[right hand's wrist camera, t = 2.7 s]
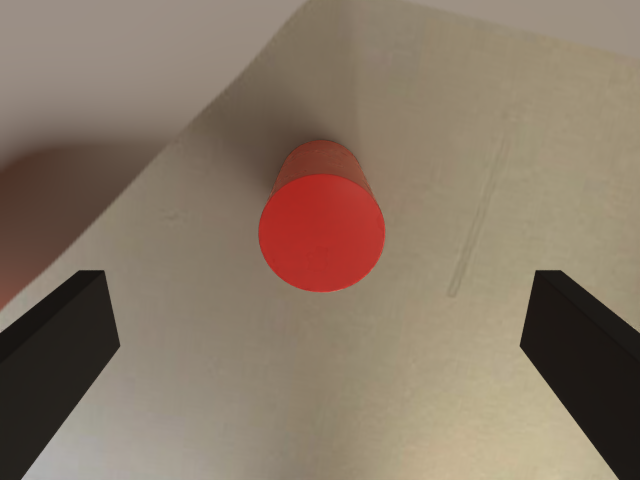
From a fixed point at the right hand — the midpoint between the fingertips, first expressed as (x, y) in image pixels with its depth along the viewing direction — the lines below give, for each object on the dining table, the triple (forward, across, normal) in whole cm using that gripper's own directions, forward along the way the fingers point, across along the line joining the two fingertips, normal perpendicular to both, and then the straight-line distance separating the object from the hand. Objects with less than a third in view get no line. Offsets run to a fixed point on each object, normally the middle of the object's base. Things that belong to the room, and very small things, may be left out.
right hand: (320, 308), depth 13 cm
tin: (+17, 0, 0) cm, 17 cm away
